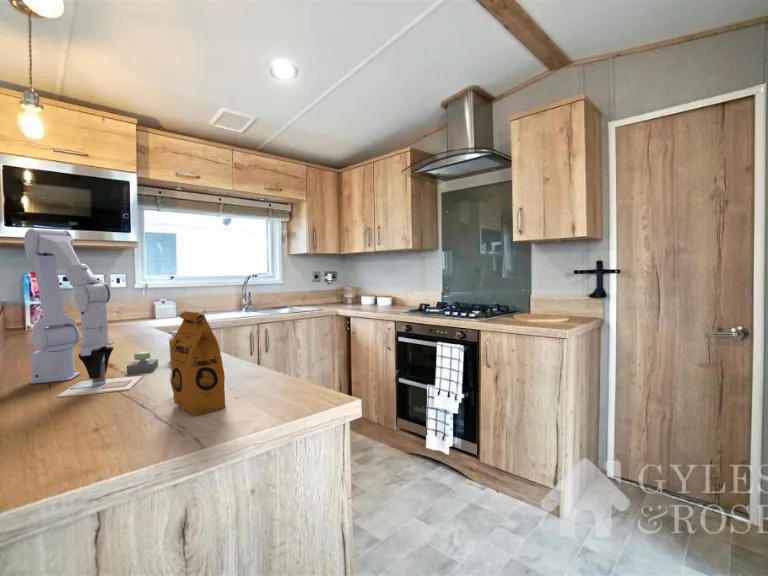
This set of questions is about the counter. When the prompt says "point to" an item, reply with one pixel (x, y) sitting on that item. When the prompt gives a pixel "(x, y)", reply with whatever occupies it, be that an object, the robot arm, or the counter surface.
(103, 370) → the grey cylinder
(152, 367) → the button housing
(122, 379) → the white sorting board
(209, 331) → the coffee package
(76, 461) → the counter surface
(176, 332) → the supplement bottle
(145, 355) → the button
